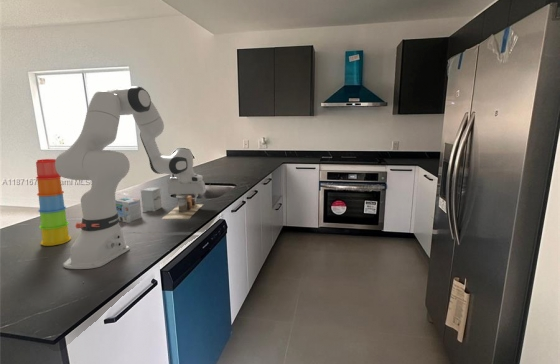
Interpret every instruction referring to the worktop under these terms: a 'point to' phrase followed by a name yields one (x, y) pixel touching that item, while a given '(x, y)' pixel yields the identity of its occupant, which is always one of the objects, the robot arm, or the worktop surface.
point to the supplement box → (151, 199)
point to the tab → (189, 200)
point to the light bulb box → (128, 209)
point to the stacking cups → (51, 204)
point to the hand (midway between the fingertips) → (187, 201)
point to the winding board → (182, 215)
